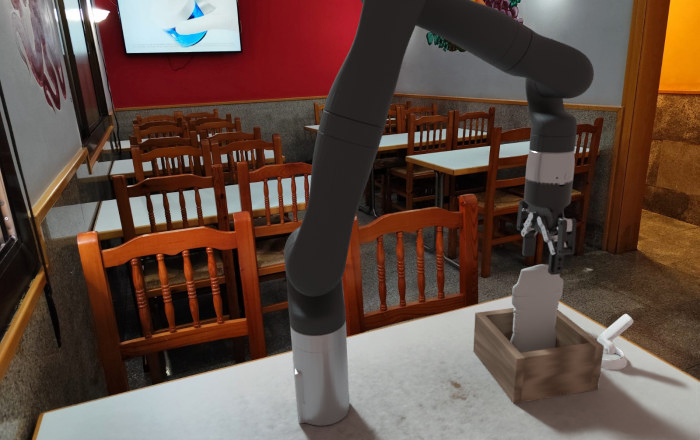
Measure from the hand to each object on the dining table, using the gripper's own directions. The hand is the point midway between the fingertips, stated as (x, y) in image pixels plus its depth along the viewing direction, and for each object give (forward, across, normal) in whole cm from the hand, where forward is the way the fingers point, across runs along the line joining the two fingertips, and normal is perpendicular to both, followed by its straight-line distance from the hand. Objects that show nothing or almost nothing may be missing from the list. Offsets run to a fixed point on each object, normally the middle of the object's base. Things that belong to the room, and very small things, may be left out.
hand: (540, 264), depth 86 cm
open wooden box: (+22, 0, 0) cm, 22 cm away
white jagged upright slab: (+22, 0, 0) cm, 22 cm away
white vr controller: (+22, 0, +16) cm, 28 cm away
